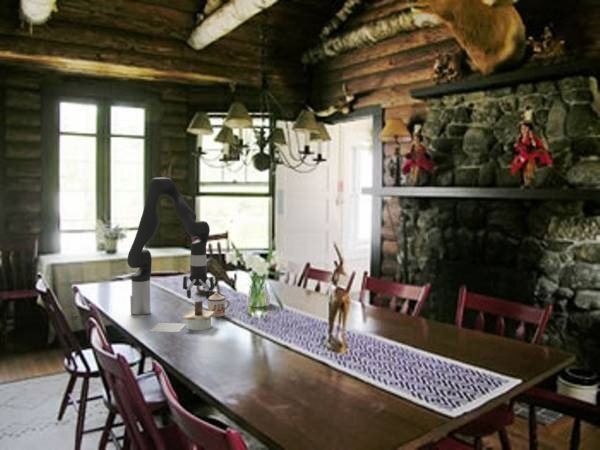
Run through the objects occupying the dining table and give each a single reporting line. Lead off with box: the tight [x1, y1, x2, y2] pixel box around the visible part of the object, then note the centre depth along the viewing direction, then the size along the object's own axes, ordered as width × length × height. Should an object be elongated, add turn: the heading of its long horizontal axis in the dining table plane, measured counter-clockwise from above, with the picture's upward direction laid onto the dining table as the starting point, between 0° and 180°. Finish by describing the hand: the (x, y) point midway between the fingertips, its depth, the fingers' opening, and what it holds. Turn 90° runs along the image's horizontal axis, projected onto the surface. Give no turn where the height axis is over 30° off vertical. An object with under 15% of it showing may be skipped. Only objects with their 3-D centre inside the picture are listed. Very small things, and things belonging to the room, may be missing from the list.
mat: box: [148, 322, 187, 333], centre depth 242 cm, size 14×14×1 cm
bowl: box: [186, 317, 212, 331], centre depth 243 cm, size 11×11×6 cm
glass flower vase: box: [246, 282, 271, 307], centre depth 290 cm, size 13×13×18 cm
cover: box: [182, 300, 214, 321], centre depth 242 cm, size 12×12×7 cm
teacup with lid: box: [206, 292, 231, 318], centre depth 267 cm, size 12×9×12 cm
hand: (198, 298), depth 242 cm, fingers open, 8 cm apart
